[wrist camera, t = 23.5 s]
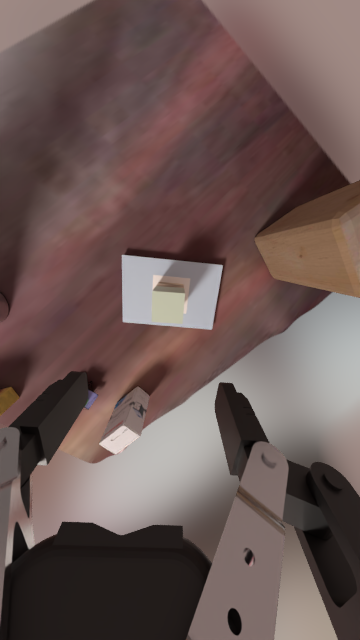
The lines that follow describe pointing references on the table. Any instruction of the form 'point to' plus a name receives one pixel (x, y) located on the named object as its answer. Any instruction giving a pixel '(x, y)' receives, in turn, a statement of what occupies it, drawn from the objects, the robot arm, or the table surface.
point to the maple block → (170, 284)
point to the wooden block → (317, 243)
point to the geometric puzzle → (90, 398)
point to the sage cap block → (168, 304)
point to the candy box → (7, 398)
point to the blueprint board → (147, 273)
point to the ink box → (126, 421)
